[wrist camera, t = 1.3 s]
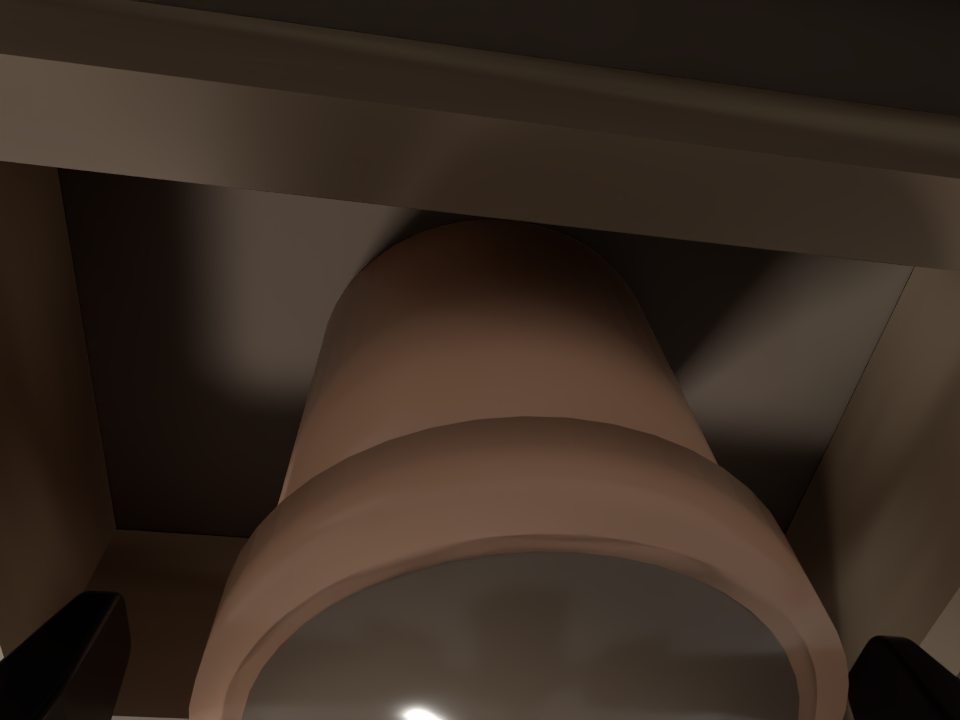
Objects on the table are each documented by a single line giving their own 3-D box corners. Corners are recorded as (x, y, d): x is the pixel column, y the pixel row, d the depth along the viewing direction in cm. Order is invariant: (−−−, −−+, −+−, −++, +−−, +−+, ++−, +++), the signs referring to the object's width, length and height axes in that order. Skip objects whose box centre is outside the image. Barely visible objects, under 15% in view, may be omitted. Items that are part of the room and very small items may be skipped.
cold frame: (793, 604, 17) (880, 777, 14) (71, 560, 15) (-32, 746, 12) (1044, 129, 11) (1297, 223, 8) (-53, -26, 10) (-317, 12, 6)
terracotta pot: (619, 520, 16) (730, 905, 10) (301, 496, 15) (206, 898, 9) (712, 225, 12) (975, 539, 6) (306, 178, 11) (156, 480, 5)
